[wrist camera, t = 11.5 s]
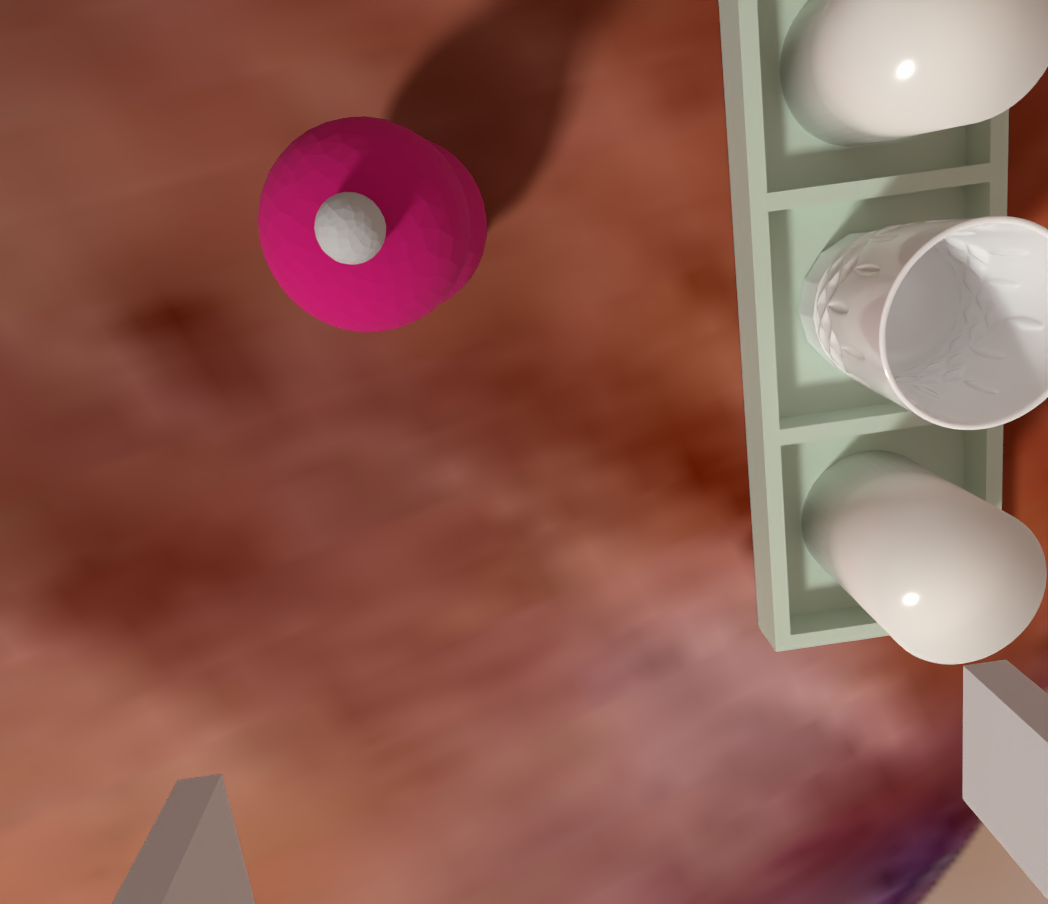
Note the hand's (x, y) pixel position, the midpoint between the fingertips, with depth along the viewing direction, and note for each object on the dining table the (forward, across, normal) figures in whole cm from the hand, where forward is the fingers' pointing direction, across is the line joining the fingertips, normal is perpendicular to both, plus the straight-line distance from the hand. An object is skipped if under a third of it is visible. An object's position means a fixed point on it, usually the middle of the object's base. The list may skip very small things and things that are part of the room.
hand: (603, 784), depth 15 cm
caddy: (+29, +17, +4) cm, 34 cm away
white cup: (+28, +17, +4) cm, 33 cm away
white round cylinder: (+28, +17, +14) cm, 36 cm away
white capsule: (+28, +17, -7) cm, 33 cm away
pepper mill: (+29, -4, +10) cm, 31 cm away
